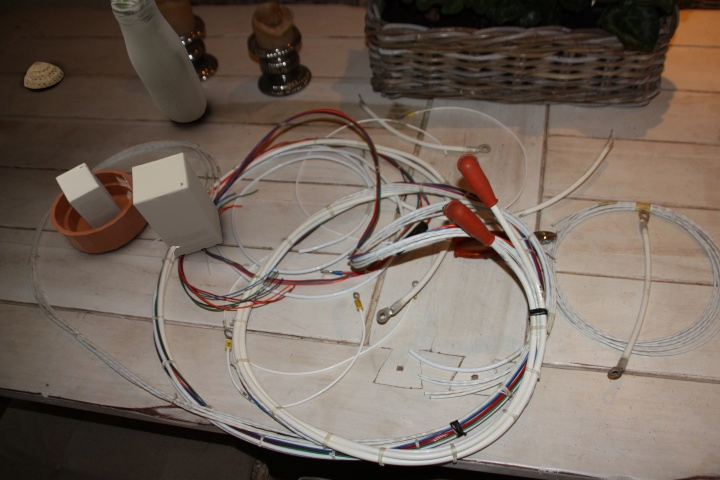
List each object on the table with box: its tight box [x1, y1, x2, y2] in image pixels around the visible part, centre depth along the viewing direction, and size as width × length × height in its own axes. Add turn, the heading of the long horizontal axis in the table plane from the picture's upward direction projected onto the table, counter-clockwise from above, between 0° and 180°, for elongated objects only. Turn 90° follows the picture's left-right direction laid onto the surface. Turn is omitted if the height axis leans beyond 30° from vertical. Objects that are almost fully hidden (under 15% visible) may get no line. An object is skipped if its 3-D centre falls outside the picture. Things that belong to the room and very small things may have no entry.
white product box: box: [131, 152, 224, 257], centre depth 93 cm, size 9×9×15 cm
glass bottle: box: [110, 0, 208, 123], centre depth 107 cm, size 10×10×28 cm
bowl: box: [49, 168, 148, 254], centre depth 101 cm, size 16×16×6 cm
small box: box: [55, 162, 122, 229], centre depth 98 cm, size 8×6×10 cm
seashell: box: [23, 61, 65, 90], centre depth 131 cm, size 8×6×8 cm
